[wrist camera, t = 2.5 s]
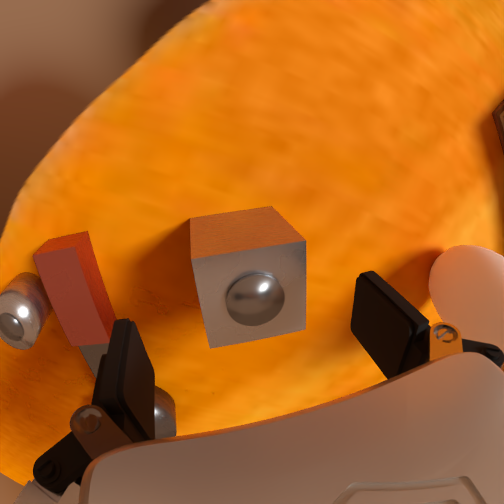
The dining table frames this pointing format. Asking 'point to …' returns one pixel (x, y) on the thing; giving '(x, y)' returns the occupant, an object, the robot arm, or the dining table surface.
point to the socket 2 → (248, 275)
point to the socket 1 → (23, 310)
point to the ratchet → (88, 309)
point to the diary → (500, 122)
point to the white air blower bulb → (470, 292)
